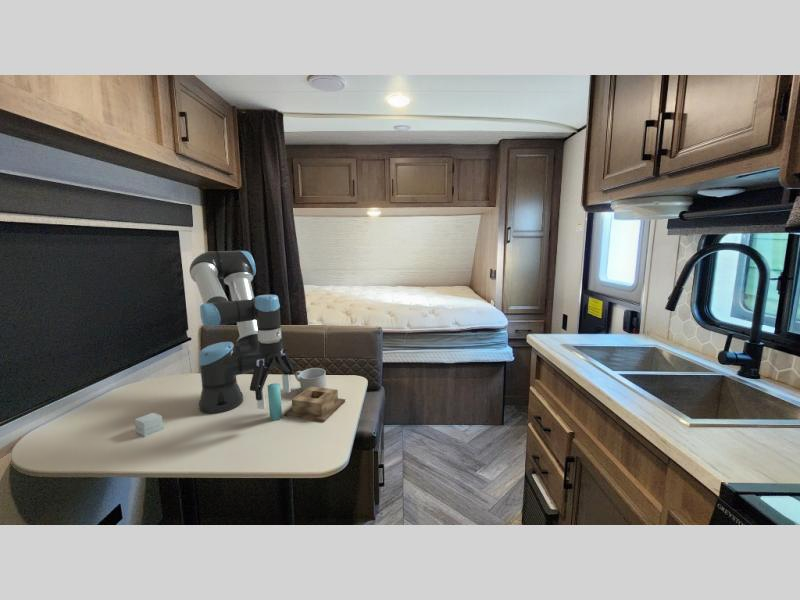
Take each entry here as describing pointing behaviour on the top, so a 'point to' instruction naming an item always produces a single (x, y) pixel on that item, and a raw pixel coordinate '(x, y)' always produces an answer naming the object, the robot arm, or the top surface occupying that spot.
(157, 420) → the small box
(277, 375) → the top surface
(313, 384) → the teacup
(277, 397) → the peg
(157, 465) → the top surface
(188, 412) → the top surface
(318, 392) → the socket
